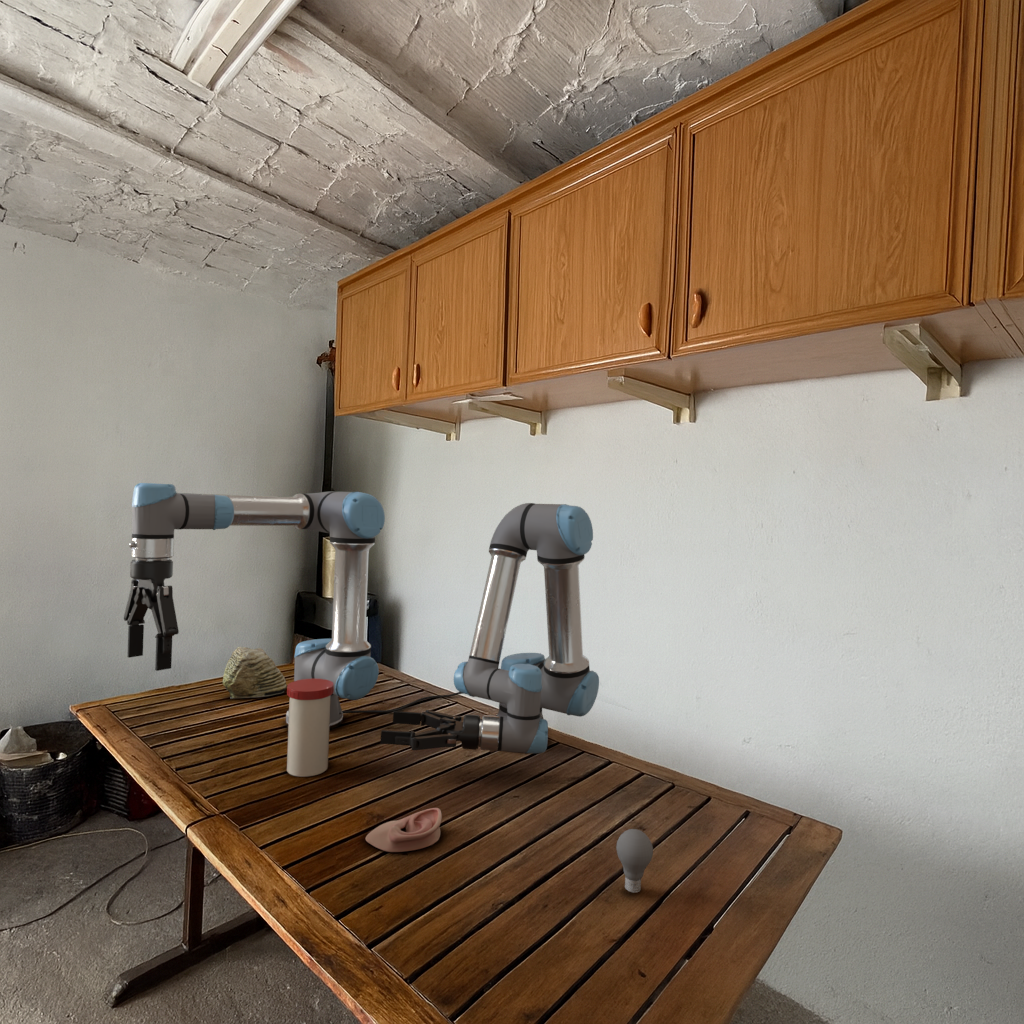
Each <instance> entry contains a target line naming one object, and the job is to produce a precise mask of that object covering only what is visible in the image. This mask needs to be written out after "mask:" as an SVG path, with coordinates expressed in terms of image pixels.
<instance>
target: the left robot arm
mask: <svg viewBox="0 0 1024 1024" xmlns="http://www.w3.org/2000/svg"><path fill="white" fill-rule="evenodd" d="M385 515H386V513H385V511H384V508H383V505H382V503H381V502H380V501H379V500H378V498H377V497H375V495H373V494H370V493H367V492H363V491H362V492H361V491H337V490H336V491H335V490H333V491H332V490H330V491H321V492H311V493H295V494H294V495H293V496H276V495H275V496H274V495H273V496H272V495H248V494H247V495H246V494H244V495H243V494H220V493H219V494H218V493H217V494H216V493H215V494H214V493H189V492H187V493H186V492H177V491H176V486H175V485H174V484H173V483H152V482H139V483H137V484H136V485H135V486H134V488H133V492H132V501H131V520H132V521H131V542H130V543H128V547H129V548H130V549H131V550H130V556H131V558H133V559H132V560H131V561H130V567H129V568H130V571H129V574H130V575H129V576H130V578H131V581H130V590H129V594H128V598H127V603H126V607H125V610H124V615H123V621H124V622H126V624H127V626H128V629H127V630H128V631H127V658H135V657H142V656H144V635H145V634H144V630H145V625H144V624H145V623H146V621H145V619H144V618H145V616H146V615H147V612H148V609H149V610H151V613H152V618H153V620H154V624H155V627H156V631H157V633H156V635H155V636H154V638H155V661H154V663H155V665H154V668H155V669H154V670H155V671H157V672H159V671H164V670H169V669H172V659H173V657H172V655H173V637H175V636H176V635H179V632H180V631H179V625H178V619H177V615H176V614H177V613H176V609H175V603H174V597H173V595H174V593H173V585H165V580H167V579H171V578H172V577H173V575H174V573H173V572H174V561H173V560H172V559H171V558H173V557H174V554H175V553H174V552H175V530H213V531H215V530H224V529H228V528H230V526H233V527H234V526H237V527H238V526H240V527H243V526H246V527H247V526H249V527H250V526H258V527H259V526H268V527H269V526H276V527H277V526H282V527H284V526H285V527H286V526H287V527H288V526H289V527H290V526H291V527H293V528H294V529H296V530H308V531H309V530H310V531H316V532H319V533H325V534H329V544H330V545H331V546H332V547H333V548H334V550H335V551H334V572H333V573H334V577H333V599H332V625H331V626H332V627H331V638H317V639H308V640H304V641H300V642H299V643H297V645H296V646H295V650H294V655H293V657H294V672H293V673H294V674H293V682H294V681H297V680H302V679H325V680H329V681H331V682H333V685H334V692H333V694H332V695H331V700H330V726H329V730H332V729H335V728H337V727H339V726H340V725H342V723H343V722H344V714H387V713H388V714H389V713H393V712H394V711H400V712H401V711H402V710H405V709H406V708H408V707H410V706H413V705H414V704H417V703H420V702H422V701H425V700H431V699H439V698H450V697H455V696H458V695H463V694H464V693H461V692H459V691H457V692H455V693H451V694H441V695H429V696H424V697H421V698H418V699H416V700H414V701H412V702H409V703H406V704H404V705H403V706H401V707H399V708H395V709H394V708H393V709H383V710H382V709H381V710H380V709H377V710H376V709H375V710H373V709H371V710H369V709H367V710H366V709H365V710H364V709H363V710H360V709H359V710H343V709H342V706H341V702H340V699H339V698H341V699H342V700H343V699H344V700H348V701H349V700H350V701H357V700H360V699H362V698H364V697H365V696H367V695H368V694H370V692H371V690H372V689H374V687H375V685H376V683H377V682H378V678H379V674H380V672H379V671H380V670H379V669H380V668H379V665H378V663H377V662H376V660H375V659H374V657H371V652H372V649H371V648H372V644H371V643H370V642H368V640H367V639H366V631H367V607H368V606H367V605H368V604H367V602H368V582H369V581H368V579H369V555H370V553H369V552H370V550H371V548H372V547H374V545H375V544H376V536H378V535H379V534H380V533H381V530H383V528H384V526H385V522H386V521H385V520H386V516H385ZM464 695H465V694H464ZM468 696H469V697H471V696H470V695H468ZM288 722H289V709H288V710H287V711H286V713H285V726H286V728H288Z"/></svg>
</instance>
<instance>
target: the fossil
mask: <svg viewBox="0 0 1024 1024" xmlns="http://www.w3.org/2000/svg"><path fill="white" fill-rule="evenodd" d="M222 676H223V677H222V685H223V687H224V688H225V690H226V691H228V693H229V698H230V699H250V698H264V697H271V696H275V695H281V694H284V693H285V691H287V686H288V684H287V680H286V678H285V676H284V674H283V673H282V672H281V669H279V668H278V667H277V665H276V663H275V662H274V660H273V659H272V658H271V657H270V656H269V655H268V654H267V653H266V652H265V650H264V649H263V648H260V647H258V648H251V647H247V646H246V647H245V646H238V647H237V648H236V649H235V650H233V651H232V653H231V656H230V657H229V659H228V660H227V663H226V666H225V668H224V671H223V675H222Z"/></svg>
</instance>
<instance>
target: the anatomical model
mask: <svg viewBox="0 0 1024 1024" xmlns="http://www.w3.org/2000/svg"><path fill="white" fill-rule="evenodd" d="M442 818H443V814H442V811H441V809H440V808H438V807H431V808H427V809H423V810H420V811H417V812H415V813H412V814H410V815H408V816H405V817H403V818H400V819H398V820H397V819H396V820H390V821H386V822H384V823H382V824H379V825H378V826H376V827H375V828H374V829H372V830H371V831H369V832H368V833H367V835H366V836H365V839H364V840H365V841H366V842H367V843H368V844H370V845H371V846H373V847H375V848H377V849H379V850H381V851H384V852H387V853H402V852H410V851H416V850H417V851H418V850H421V849H425V848H427V847H430V846H433V845H434V844H435V843H437V842H438V841H439V840H440V837H441V827H440V826H441V824H442Z"/></svg>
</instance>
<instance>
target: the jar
mask: <svg viewBox="0 0 1024 1024" xmlns="http://www.w3.org/2000/svg"><path fill="white" fill-rule="evenodd" d="M330 700H331V695H330V696H328V697H325V698H321V699H315V700H298V699H293V698H290V697H289V696H288V710H289V722H288V727H287V752H286V772H287V773H288V774H289V775H290V776H293V777H301V778H302V777H303V778H306V777H307V778H308V777H314V776H317V775H320V774H322V773H324V772H325V771H327V770H328V768H329V750H330V748H329V747H330V729H329V726H330Z"/></svg>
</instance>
